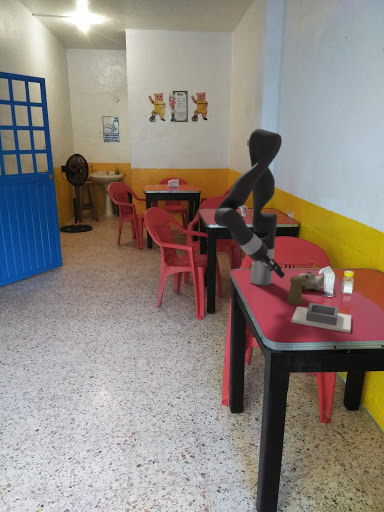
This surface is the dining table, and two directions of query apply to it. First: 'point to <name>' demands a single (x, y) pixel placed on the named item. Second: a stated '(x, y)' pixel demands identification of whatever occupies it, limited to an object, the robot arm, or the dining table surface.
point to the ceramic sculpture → (311, 281)
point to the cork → (295, 290)
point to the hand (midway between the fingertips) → (277, 273)
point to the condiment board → (322, 317)
